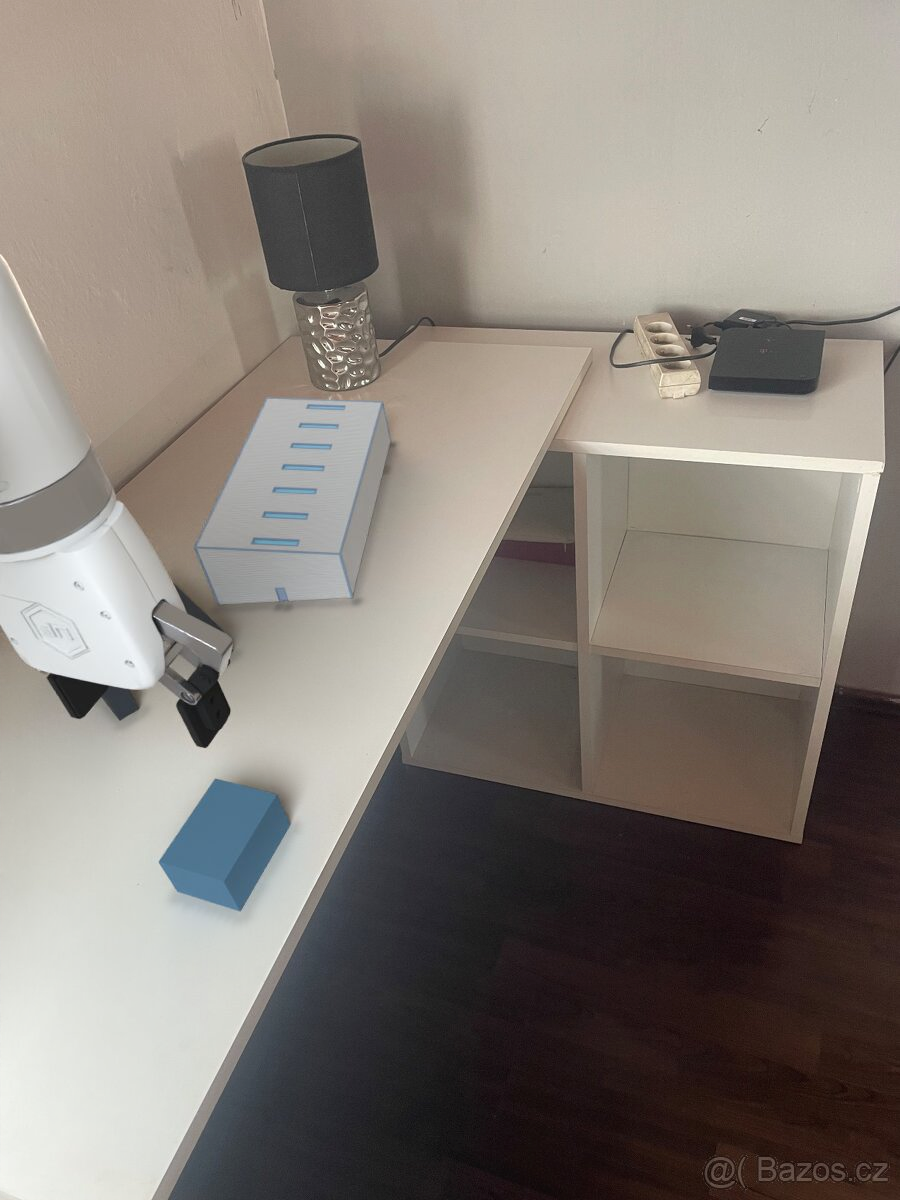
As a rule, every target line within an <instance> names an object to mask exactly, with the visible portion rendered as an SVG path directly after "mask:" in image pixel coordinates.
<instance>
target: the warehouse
mask: <svg viewBox="0 0 900 1200" xmlns="http://www.w3.org/2000/svg"><path fill="white" fill-rule="evenodd" d="M263 401H264V402H263V403H262V405H261V407H260V410H259V412H258V414H257V416H256V418H255V420H254V421H253V424H252V426H251V428H250V430H249V432H248V434H247V437H246V439H245V441H244V443H243V445H242V447H241V449H240V451H239V453H238V454H237V457H236V459H235V461H234V464H233V466H232V467H231V470H230V471H229V473H228V476H227V478H226V480H225V482H224V484H223V486H222V488H221V490H220V492H219V494H218V497H217V499H216V500H215V502H214V505H213V506H212V509H211V511H210V513H209V515H208V517H207V519H206V521H205V523H204V525H203V527H202V530H201V531H200V533H199V536H198V537H197V540H196V542H195V543H194V546H193V549H194V552H195V554H196V557H197V560H198V561H199V564H200V567H201V570H202V571H203V574H204V576H205V578H206V581H207V583H208V585H209V588H210V590H211V593H212V595H213V597H214V600H215V602H216V605H217V606H221V605H234V604H236V605H238V604H255V603H257V604H258V603H273V602H274V603H275V602H280V603H281V601H287V602H292V601H293V602H295V601H313V600H332V599H333V600H334V599H349V598H350V599H354V592H355V588H356V584H357V580H358V575H359V572H360V568H361V563H362V559H363V555H364V551H365V548H366V543H367V539H368V534H369V531H370V528H371V522H372V519H373V515H374V512H375V506H376V502H377V498H378V494H379V490H380V486H381V482H382V478H383V473H384V470H385V466H386V462H387V458H388V453H389V449H390V446H391V443H392V438H391V433H390V428H389V423H388V418H387V415H386V410H385V409H386V408H385V403H384V401H381V400H355V399H353V400H352V399H328V398H327V399H326V398H325V399H324V398H322V399H321V398H300V397H299V398H297V397H294V398H293V397H270V396H269V397H268V396H266V397H265V399H264V400H263Z"/></svg>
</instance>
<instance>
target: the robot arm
mask: <svg viewBox="0 0 900 1200" xmlns="http://www.w3.org/2000/svg"><path fill="white" fill-rule="evenodd" d="M173 583H174V582H173V580H172V578H171V576H170V575H169V573H168V570H167V569H166V567H165V565H164V563H163V562H162V560H161V558H160V557H159V555H158V553H157V552H156V550H155V548H154V547H153V545H152V543H151V542H150V540H149V539H148V537H147V536H146V534H145V532H144V531H143V529H142V528H141V526H140V525H139V524H138V522H137V521H136V518H134V516H133V515H132V514H131V512H130V510H128V508H127V507H126V505H125V504H124V502H123V501H120V500H117V495H116V492H115V489H114V487H113V485H112V482H110V479H109V477H108V475H107V472H106V470H105V468H104V466H103V464H102V462H101V460H100V458H99V456H98V453H97V452H96V449H95V447H94V445H93V442H92V440H91V438H90V437H89V434H88V432H87V430H86V427H85V426H84V423H83V421H82V419H81V416H80V415H79V413H78V410H77V409H76V406H75V404H74V402H73V401H72V398H71V396H70V393H69V391H68V389H67V387H66V385H65V383H64V381H63V379H62V377H61V374H60V372H59V370H58V367H57V365H56V363H55V360H54V359H53V356H52V355H51V353H50V350H49V348H48V346H47V344H46V342H45V339H44V337H43V335H42V333H41V331H40V328H39V325H38V323H37V322H36V319H35V318H34V315H33V313H32V311H31V309H30V307H29V305H28V302H27V300H26V298H25V296H24V294H23V291H22V289H21V287H20V284H19V283H18V281H17V279H16V277H15V275H14V273H13V271H12V269H11V267H10V266H9V263H8V262H7V260H6V259H5V257H4V256H3V255H2V254H1V253H0V628H1V629H2V631H3V632H4V634H5V635H6V637H7V639H8V641H9V643H10V644H11V645H12V647H13V649H14V650H15V652H16V653H17V655H18V656H19V657H20V660H21V661H23V663H25V664H26V665H28V666H30V667H31V668H34V669H35V671H37V672H39V673H40V674H43V675H47V674H48V675H47V676H46V680H47V681H48V684H50V686H51V687H52V689H53V691H54V692H55V694H56V696H57V697H58V699H59V700H60V702H61V703H62V705H63V706H64V708H65V710H66V712H67V713H68V714H69V716H70V717H71V718H73V719H77V720H81V719H83V718H85V717H86V715H87V714H88V713H89V712H90V711H91V710H92V709H93V708H94V707H95V705H96V704H97V703H98V702H99V700H100V699H101V698H102V695H103V694H104V693H105V692H106V691H107V690H108V687H109V686H114V687H120V688H125V689H129V690H134V691H135V690H137V691H139V690H141V691H142V690H149V689H151V688H154V687H155V686H156V685H157V683H158V682H159V683H160V684H161V685H163V687H165V688H166V689H167V690H168V691H170V692H171V693H172V694H174V695H175V696H176V697H177V698H178V700H177V701H176V705H175V707H176V709H177V712H178V714H179V716H180V718H181V719H182V722H183V724H184V725H185V727H186V729H187V731H188V733H189V735H190V738H191V739H192V741H193V743H194V744H195V746H196V747H199V748H202V749H208V747H209V746H210V745H211V743H212V742H213V740H214V739H215V738H216V736H217V735H218V734H219V732H220V730H222V729H223V727H224V726H225V724H226V723H227V721H228V720H229V717H230V716H231V712H232V709H231V706H230V704H229V702H228V700H227V697H226V695H225V693H224V691H223V688H222V686H221V684H220V682H219V680H220V678H221V676H222V675H223V674H224V673H225V671H226V669H227V668H228V667H229V666H230V664H231V659H230V658H231V655H232V652H233V651H232V649H233V646H234V640H233V638H232V637H231V636H230V635H229V634H228V633H226V632H225V631H224V632H225V633H224V632H222V631H220V630H218V629H216V628H214V627H212V626H210V625H209V624H207V623H205V622H203V621H201V620H199V619H197V618H195V617H193V616H191V615H189V614H187V612H186V609H185V607H184V605H183V603H182V600H181V598H180V596H179V594H178V592H177V590H176V588H175V586H174V584H175V583H174V584H173ZM164 642H167V643H168V644H169V646H168V647H167V649H166V650H165V647H164ZM231 651H232V652H231ZM179 655H180V657H182V658H183V659H184V660H186V662H188V663H189V664H190V665H192V666H193V667H194V668H195V669H194V671H193V672H192V673H191V674H190V676H189V677H188V678H187V679H186V678H185V677H184V676H182V675H181V674H179V672H177V671H176V670H175V669H173V668H172V667H171V665H172V663H173V662H174V661H175V660H176V658H177V657H178V656H179Z"/></svg>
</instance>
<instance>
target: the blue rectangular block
mask: <svg viewBox="0 0 900 1200" xmlns="http://www.w3.org/2000/svg"><path fill="white" fill-rule="evenodd" d="M290 826H291V823H290V821H289V819H288V816H287V814H286V812H285V810H284V807H283V805H282V802H281V800H280V798H279V796H278V794H277V793H274V792H271V791H266V790H262V789H259V788H255V787H251V786H248V785H247V786H246V785H243V784H239V783H235V782H232V781H231V782H230V781H227V780H224V779H220V778H219V779H218V778H214V779H213V781H212V782H211V784H210V785H209V787H208V788H207V790H206V791H205V793H204V794H203V796H202V797H201V798H200V800H199V802H198V803H197V804H196V806H195V807H194V808H193V810H192V812H191V813H190V815H189V816H188V818H187V819H186V820H185V822H184V823H183V825H182V827H181V828H180V830H179V831H178V833H176V835H175V837H174V838H173V839H172V841H171V843H170V844H169V846H168V847H167V848H166V850H165V851H164V852H163V855H162V856H161V857H160V859H159V860H158V864H159V865H160V867H161V868H162V871H163V872H164V874H165V875H166V877H167V878H168V880H169V881H170V883H171V885H172V886H173V887H174V889H175V891H176V892H178V893H180V894H183V895H187V896H191V897H193V898H196V899H199V900H203V901H205V902H210V903H212V904H215V905H220V906H222V907H224V908H228V909H231V910H234V911H238V912H241V911H242V910H243V908H244V906H245V905H246V902H247V901H248V899H249V897H250V896H251V894H252V892H253V890H254V888H255V887H256V885H257V884H258V882H259V880H260V878H261V877H262V874H263V873H264V871H265V869H266V868H267V866H268V864H269V862H270V861H271V860H272V857H273V856H274V854H275V852H276V851H277V849H278V847H279V846H280V844H281V842H282V840H283V838H284V836H285V835H286V834H287V832H288V830H289V828H290Z"/></svg>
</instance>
